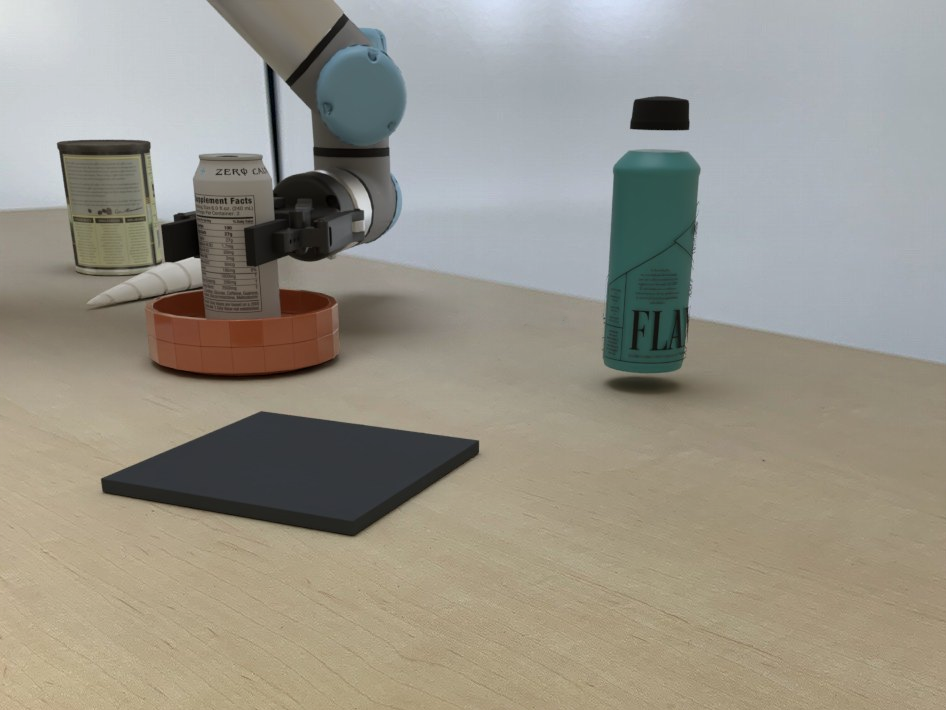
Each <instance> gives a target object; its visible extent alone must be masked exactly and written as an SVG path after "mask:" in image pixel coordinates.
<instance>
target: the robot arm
mask: <svg viewBox="0 0 946 710" xmlns="http://www.w3.org/2000/svg"><path fill="white" fill-rule="evenodd" d="M205 1H206V2H207V3H208V4H209V5H210V6H211V7H212V8H213V9H214V10H215V11H216V13H218V14H219V15H220V17H222V18H223V19H224V21H225V22H226V23H227V24H228V25H229V26H230V27H231V28H232V29H233V30H234V31H235V32H236V33H237V34H238V35H239V36H240V37H241V38H242V39H243V40H244V41H245V42H246V43H247V45H248V46H249V47H250V48H251V49H252V50H253V51H254V52H256V54H257V55H259V57H260V58H261V59H262V60H263V61H264V62H265V63H266V64H267V65H268V66H269V67H270V69H272V70H273V71H274V73H275V74H277V76H278V77H279V78H281V80H282V81H283V82H284V83H285V84H286V85H287V86H288V87H289V88H290V90H291V91H292V92H293V93H294V94H295V95H296V96H297V97H298V98H299V99H300V100H301V102H302V103H304V104H305V106H306V107H308V109H309V110H310V113H311V125H312V127H311V128H312V142H313V147H312V154H313V155H312V156H313V170H309V171H305V172H301V173H295V174H291V175H289V176H287V177H285V178H284V179H282V180H281V181H279V182H278V183H277V184H276V186H275V187H273V201H274V217H275V220H273V221H269V222H265V223H261V224H258V225H254V226H250V227H246V228H244V237H245V250H246V263H247V266H254V267H256V266H259V265H262V264H265V263H268V262H271V261H274V260H277V261H278V260H279V259H282V258H285V257H290V258H293V259H294V260H297V261H301V262H307V263H313V262H319V261H322V260H324V259H328V260H330V261H331V260H336V259H337V258H338V257H337V255H338V254H339V253H341V252H344V251H346V250H349V249H352V248H354V247H357V246H361V245H364V244H365V245H368V244H370V243H373V242H375V241H377V240H378V239H380V238H382V236H384V235H385V234H387V233H388V232H389V231H390V230H391V229H392V228H393V227H394V226H395V225H396V223H397V222H398V220H399V218H400V216H401V213H402V209H403V195H402V190H401V186H400V184H399V182H398V181H397V179H396V177H395V175H394V174H393V173H392V172H391V153H390V149H391V148H390V136H391V135H393V133H395V132H396V131H397V128H399V126H400V124H401V123H402V120H403V118H404V116H405V113H406V109H407V102H408V93H407V92H408V91H407V86H406V81H405V80H404V77H403V74H402V71H401V70H400V68H399V66H398V65H397V64H396V63H395V61H394V60H393V59H392V58H391V57H390V56H389V54H388V46H387V37H386V35H385V33H383V31H382V30H380V29H378V28H372V27H358V26H357V25H356V24H355V23H354V22H353V21H352V20H351V19H350V18H349V16H347V15H346V14H345V11H344V10H343V9H342V8H341V6H339V4H338V3H337V2H336V1H335V0H205ZM172 217H173V221H172V222H166V223H163V224H160V229H161V240H162V248H163V257H164V263H166V262H172V263H174V262H178V261H181V260H185V259H188V258H191V257H194V258H200V251H199V240H198V230H197V219H196V210H192V211H186V212H177V213H174V214H173V215H172Z"/></svg>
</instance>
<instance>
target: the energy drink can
mask: <svg viewBox="0 0 946 710" xmlns="http://www.w3.org/2000/svg"><path fill="white" fill-rule="evenodd" d="M263 158H264V155H263V154H260V153H247V152H245V153H244V152H237V153H236V152H222V153H220V152H218V153H217V152H215V153H201V154H200V153H199V154H198V159H199V162H198V165H197V168H196V170H195V172H194V175H193V176H192V177H193V178H192V185H193V196H194V206H195V208H194V209H195V211H196V219H197V230H198V240H199V251H200V262H201V272H202V283H203V287H202V290H203V294H204V305H205V315H206V319H255V318H270V317H281V309H280V294H279V288H280V280H279V264H278V259H277V260H274V261H271V262H268V263H265V264H262V265H259V266H256V267H254V266H247V263H246V250H245V237H244V228H246V227H250V226H254V225H258V224H261V223H265V222H269V221H273V220H275V217H274V201H273V189H274V186H273V177H272V176H271V174H270V172H269V170H268V169H267V168H266V165H265V164H264V161H263Z"/></svg>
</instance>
